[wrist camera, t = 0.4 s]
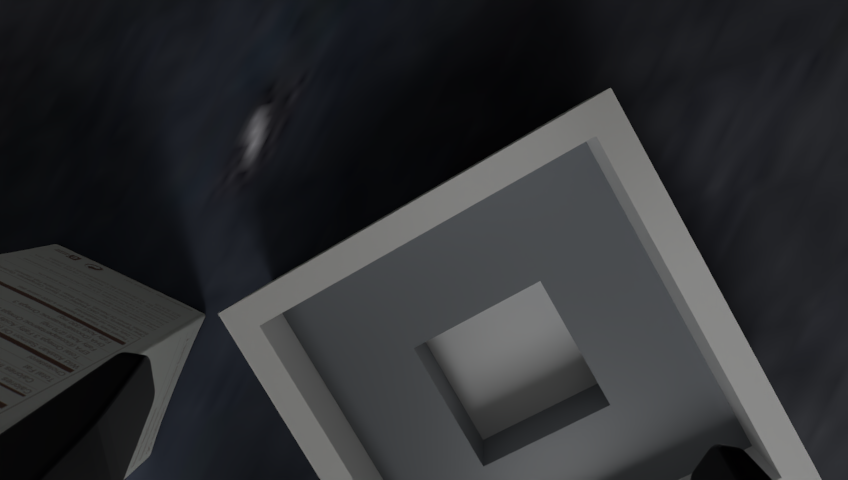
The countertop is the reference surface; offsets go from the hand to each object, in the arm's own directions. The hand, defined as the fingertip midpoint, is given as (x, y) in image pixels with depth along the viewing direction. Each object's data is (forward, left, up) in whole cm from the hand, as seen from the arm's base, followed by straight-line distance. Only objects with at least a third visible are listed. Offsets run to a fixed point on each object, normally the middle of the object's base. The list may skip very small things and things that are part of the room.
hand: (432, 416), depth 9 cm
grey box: (-4, 0, -14) cm, 15 cm away
